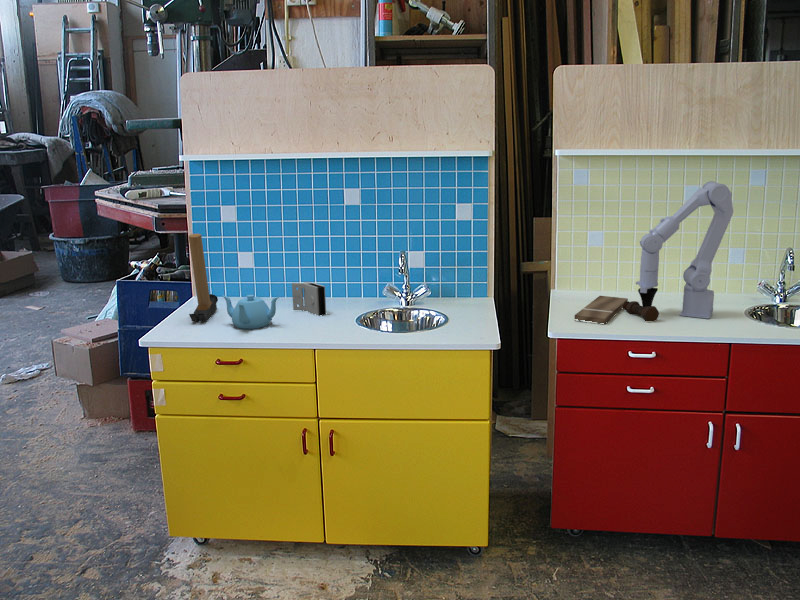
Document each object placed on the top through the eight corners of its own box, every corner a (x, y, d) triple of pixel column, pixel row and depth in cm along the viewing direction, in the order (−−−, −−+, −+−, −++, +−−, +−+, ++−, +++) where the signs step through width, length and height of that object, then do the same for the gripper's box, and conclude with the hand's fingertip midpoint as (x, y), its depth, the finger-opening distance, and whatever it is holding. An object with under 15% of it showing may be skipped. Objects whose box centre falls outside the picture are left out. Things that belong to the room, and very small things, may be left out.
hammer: (206, 329, 253) (194, 246, 241) (191, 329, 253) (179, 246, 241) (219, 304, 272) (209, 225, 259) (205, 304, 272) (194, 225, 259)
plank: (627, 303, 267) (627, 298, 267) (604, 324, 242) (605, 318, 242) (599, 300, 272) (599, 295, 272) (574, 321, 247) (574, 314, 247)
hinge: (292, 310, 267) (291, 283, 265) (303, 307, 271) (302, 280, 269) (320, 316, 259) (319, 287, 256) (331, 313, 263) (330, 285, 261)
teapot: (264, 317, 260) (262, 288, 257) (283, 326, 247) (281, 296, 245) (223, 324, 252) (221, 294, 249) (241, 334, 240) (238, 302, 237)
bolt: (627, 315, 259) (653, 325, 245) (616, 309, 258) (641, 319, 243) (635, 300, 259) (661, 310, 245) (624, 294, 257) (650, 303, 243)
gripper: (642, 265, 258) (639, 303, 261) (631, 273, 246) (629, 313, 249) (663, 266, 255) (660, 305, 258) (653, 274, 242) (651, 315, 246)
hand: (646, 309), depth 253 cm, fingers closed
